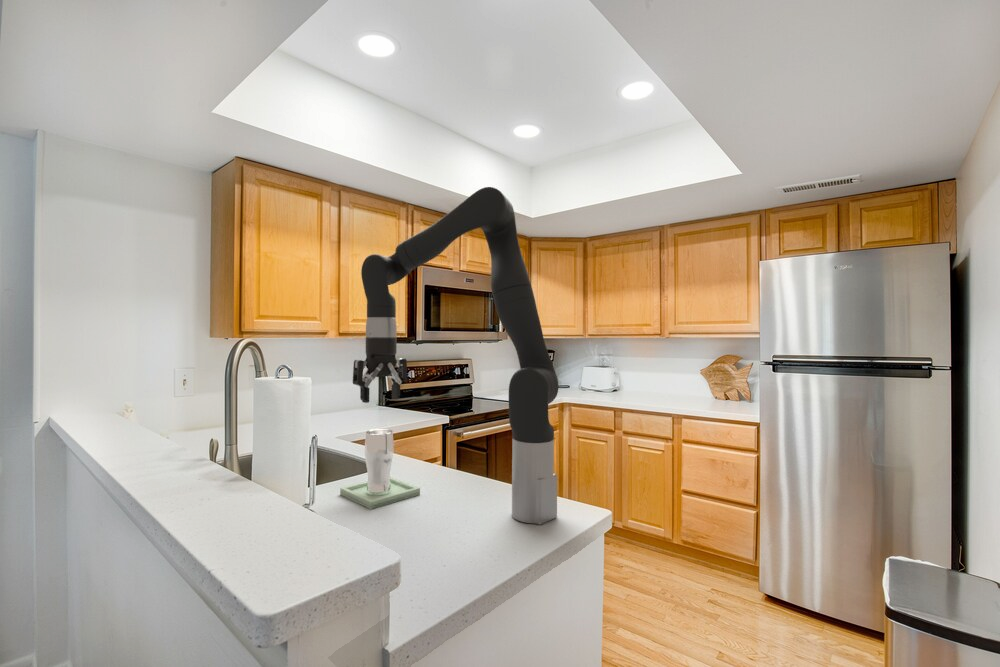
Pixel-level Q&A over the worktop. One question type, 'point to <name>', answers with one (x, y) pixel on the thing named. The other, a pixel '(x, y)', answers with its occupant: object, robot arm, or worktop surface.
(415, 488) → the tray
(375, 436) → the beer glass
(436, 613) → the worktop surface
